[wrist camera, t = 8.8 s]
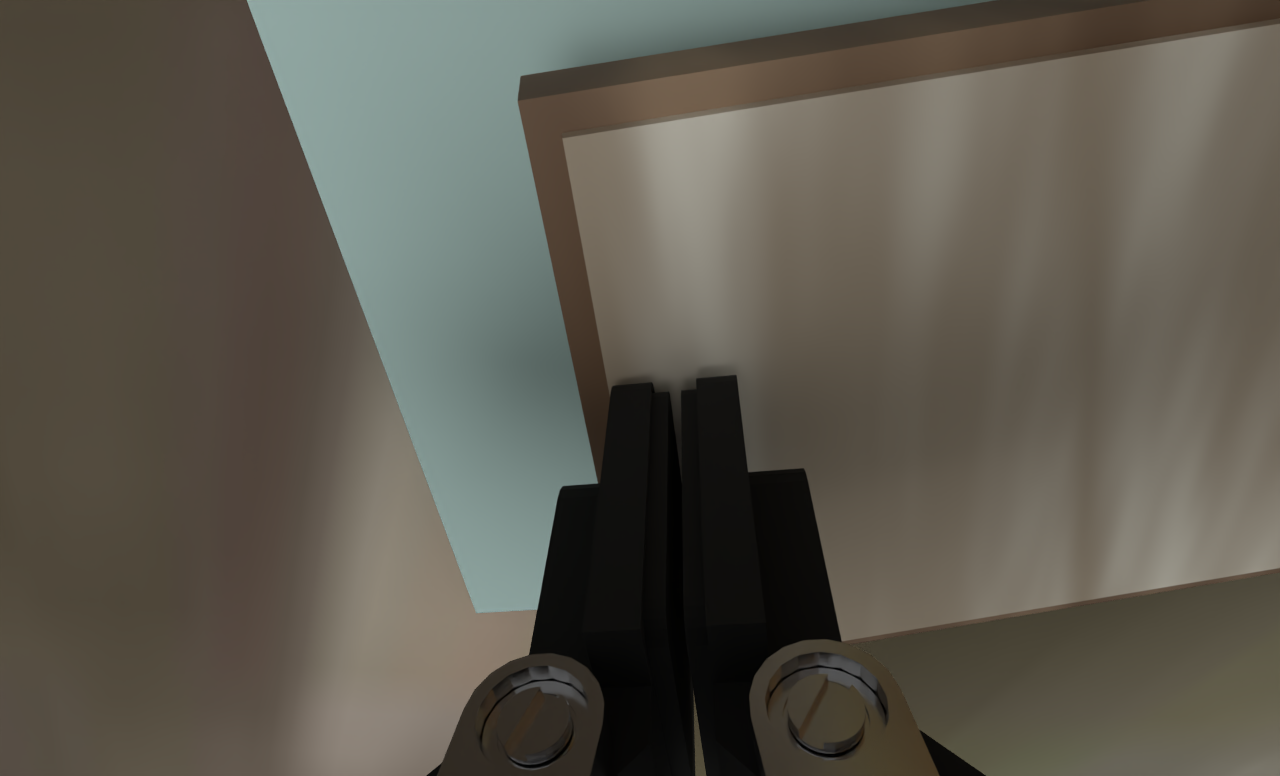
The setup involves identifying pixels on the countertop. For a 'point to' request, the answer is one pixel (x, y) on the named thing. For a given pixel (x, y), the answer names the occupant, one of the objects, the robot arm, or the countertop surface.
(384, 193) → the mat
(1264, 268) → the walnut board
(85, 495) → the countertop surface
